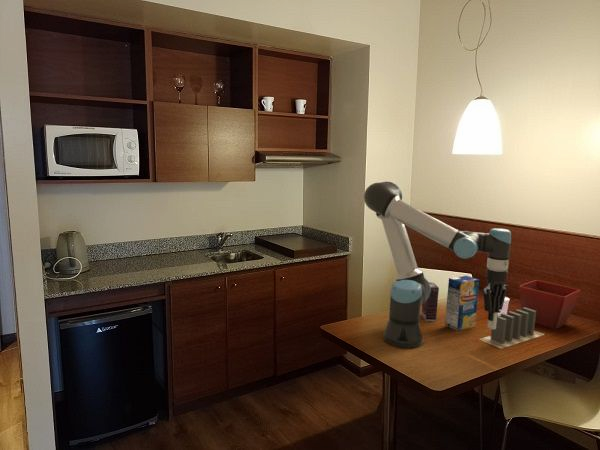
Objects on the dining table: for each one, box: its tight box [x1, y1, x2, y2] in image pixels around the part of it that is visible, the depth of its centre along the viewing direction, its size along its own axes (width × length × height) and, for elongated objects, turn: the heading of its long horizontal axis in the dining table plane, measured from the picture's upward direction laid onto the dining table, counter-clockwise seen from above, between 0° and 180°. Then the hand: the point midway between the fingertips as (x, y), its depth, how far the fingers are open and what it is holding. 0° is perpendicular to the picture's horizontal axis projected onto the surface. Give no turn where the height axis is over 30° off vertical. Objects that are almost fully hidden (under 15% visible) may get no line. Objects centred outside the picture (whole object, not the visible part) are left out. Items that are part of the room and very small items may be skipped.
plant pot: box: [519, 279, 581, 330], centre depth 199 cm, size 19×19×17 cm
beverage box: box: [444, 275, 480, 331], centre depth 189 cm, size 7×11×22 cm, turn 118°
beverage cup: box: [498, 296, 510, 316], centre depth 206 cm, size 6×6×14 cm
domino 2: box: [500, 313, 515, 342], centre depth 177 cm, size 2×5×10 cm, turn 31°
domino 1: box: [490, 316, 507, 344], centre depth 174 cm, size 2×5×10 cm, turn 31°
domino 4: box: [514, 309, 529, 337], centre depth 182 cm, size 2×5×10 cm, turn 31°
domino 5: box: [521, 307, 536, 335], centre depth 185 cm, size 2×5×10 cm, turn 31°
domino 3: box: [507, 310, 522, 339], centre depth 180 cm, size 2×5×10 cm, turn 31°
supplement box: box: [420, 281, 440, 322], centre depth 200 cm, size 9×5×16 cm, turn 179°
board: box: [478, 330, 545, 350], centre depth 180 cm, size 30×10×1 cm, turn 121°
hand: (491, 327), depth 171 cm, fingers closed
